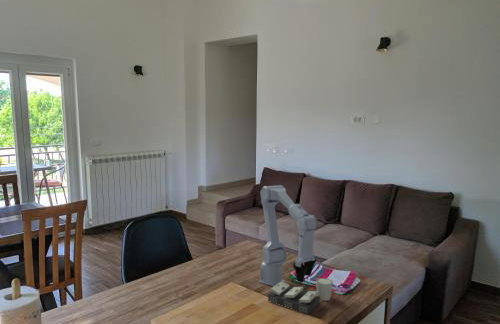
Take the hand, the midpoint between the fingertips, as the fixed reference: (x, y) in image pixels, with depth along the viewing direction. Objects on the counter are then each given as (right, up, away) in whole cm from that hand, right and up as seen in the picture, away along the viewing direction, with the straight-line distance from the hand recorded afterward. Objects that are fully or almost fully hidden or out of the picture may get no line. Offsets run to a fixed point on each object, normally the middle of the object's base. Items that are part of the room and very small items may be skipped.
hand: (304, 278), depth 148 cm
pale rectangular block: (-9, -5, +3) cm, 11 cm away
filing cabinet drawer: (-4, -6, 0) cm, 7 cm away
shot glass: (+9, -10, +6) cm, 15 cm away
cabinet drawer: (+1, -7, -4) cm, 8 cm away
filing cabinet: (-4, -10, 0) cm, 11 cm away
